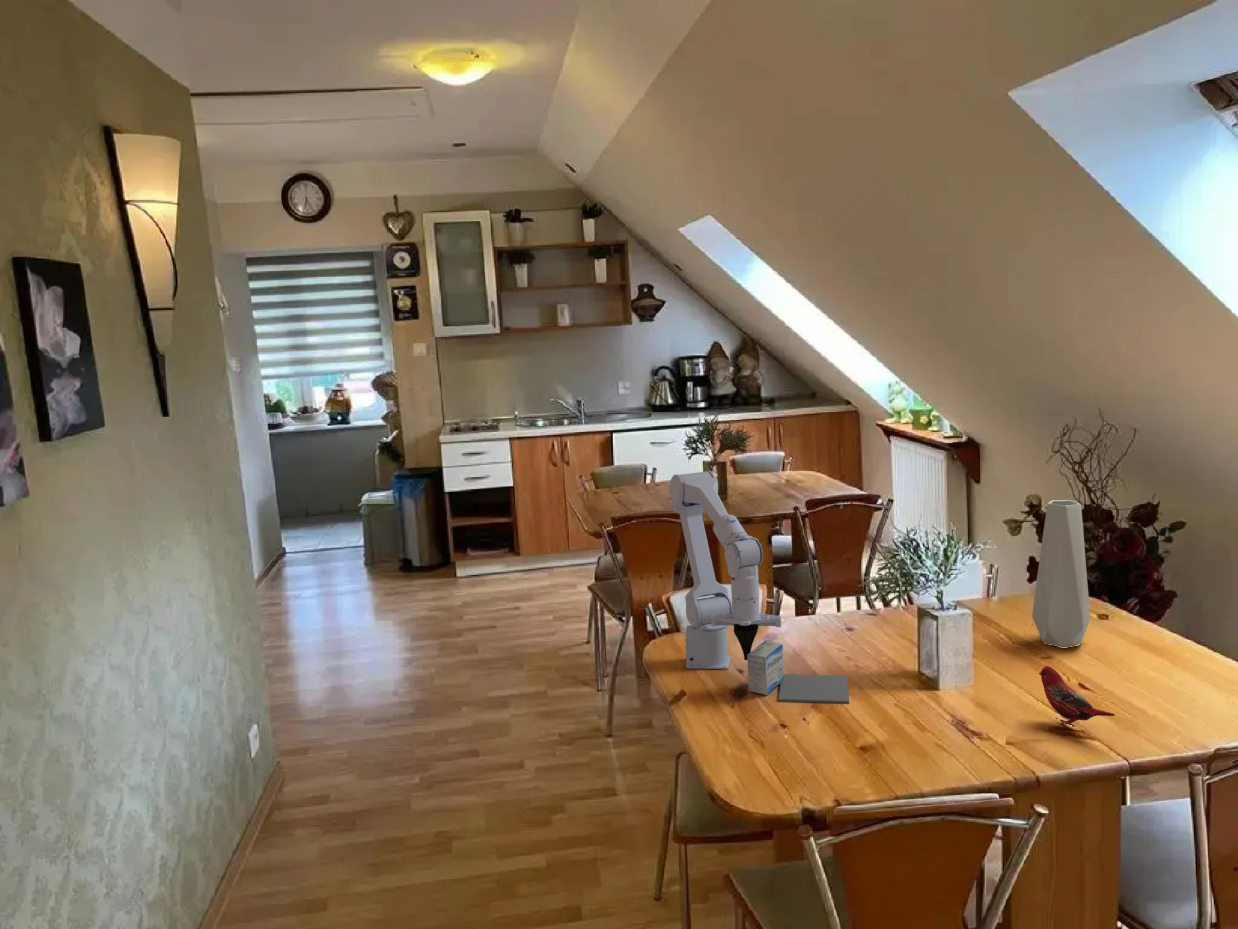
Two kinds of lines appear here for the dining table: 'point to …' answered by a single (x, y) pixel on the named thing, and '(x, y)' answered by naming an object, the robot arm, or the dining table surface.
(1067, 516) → the vase
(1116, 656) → the dining table surface
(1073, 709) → the decorative bird figurine
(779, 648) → the medicine box
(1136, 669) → the dining table surface
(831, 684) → the mat
